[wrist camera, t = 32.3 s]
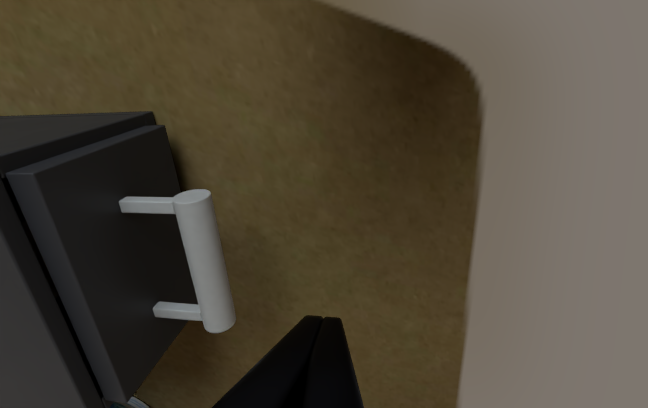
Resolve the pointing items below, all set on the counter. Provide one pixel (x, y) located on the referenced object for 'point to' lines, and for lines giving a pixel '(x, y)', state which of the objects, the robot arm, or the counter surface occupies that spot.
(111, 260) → the pulled-out drawer
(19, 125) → the drawer cabinet
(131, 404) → the chinaware
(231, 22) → the counter surface
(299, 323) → the robot arm
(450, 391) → the counter surface
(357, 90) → the counter surface
